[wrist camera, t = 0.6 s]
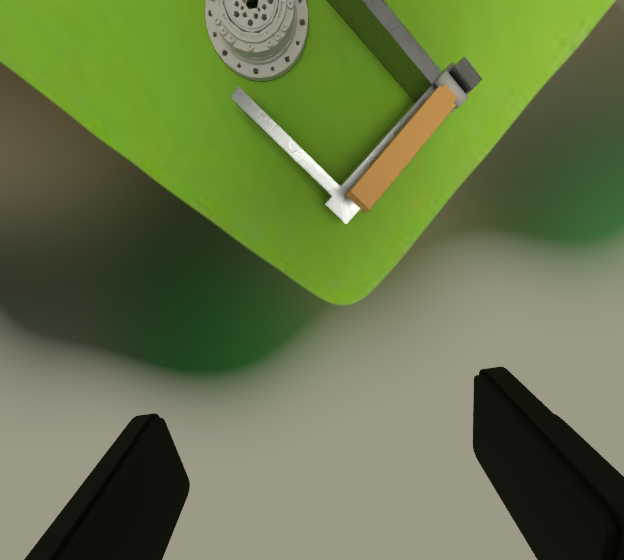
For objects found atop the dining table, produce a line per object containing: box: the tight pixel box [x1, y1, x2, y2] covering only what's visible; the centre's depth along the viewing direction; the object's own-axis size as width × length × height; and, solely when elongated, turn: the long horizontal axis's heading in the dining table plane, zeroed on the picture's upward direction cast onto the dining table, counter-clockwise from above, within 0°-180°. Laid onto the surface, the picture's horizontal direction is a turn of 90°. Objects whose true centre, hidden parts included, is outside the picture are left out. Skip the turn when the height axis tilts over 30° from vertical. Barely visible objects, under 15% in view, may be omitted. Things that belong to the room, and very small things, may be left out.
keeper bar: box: [346, 70, 468, 212], centre depth 25 cm, size 14×3×1 cm, turn 137°
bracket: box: [231, 0, 482, 224], centre depth 28 cm, size 17×16×7 cm
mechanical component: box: [205, 0, 308, 81], centre depth 27 cm, size 10×4×10 cm
